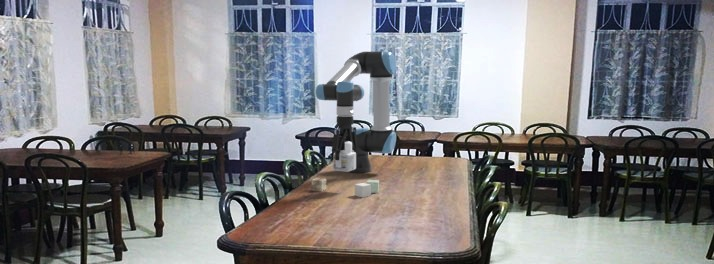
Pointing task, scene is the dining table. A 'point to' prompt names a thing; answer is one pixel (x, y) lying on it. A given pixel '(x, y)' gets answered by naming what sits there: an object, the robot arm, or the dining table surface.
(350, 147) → the container
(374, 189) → the sage cube
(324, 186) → the beech cube
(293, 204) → the dining table surface
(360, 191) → the cream cube
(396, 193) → the dining table surface
